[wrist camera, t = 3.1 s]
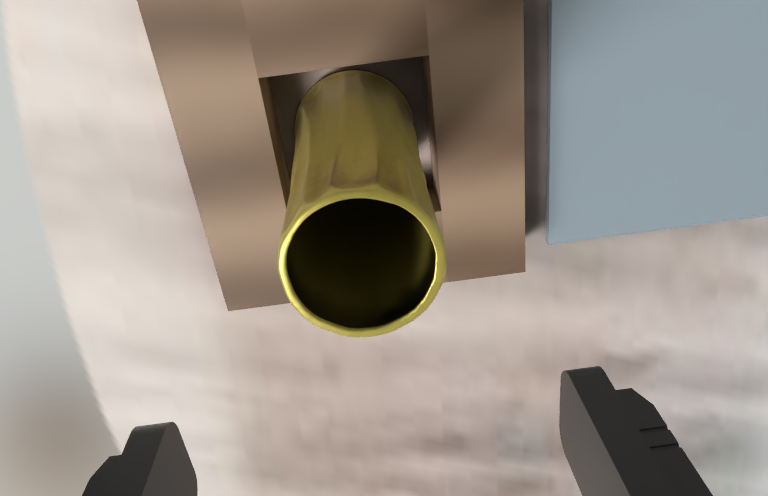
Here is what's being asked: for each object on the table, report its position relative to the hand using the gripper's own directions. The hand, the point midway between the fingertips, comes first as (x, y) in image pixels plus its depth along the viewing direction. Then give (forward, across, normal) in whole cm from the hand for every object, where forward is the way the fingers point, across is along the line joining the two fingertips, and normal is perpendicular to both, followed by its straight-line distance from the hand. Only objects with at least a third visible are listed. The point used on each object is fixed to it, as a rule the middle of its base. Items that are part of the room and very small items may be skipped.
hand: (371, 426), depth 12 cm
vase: (+21, 0, 0) cm, 21 cm away
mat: (+21, -17, 0) cm, 27 cm away
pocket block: (+21, 0, 0) cm, 21 cm away
